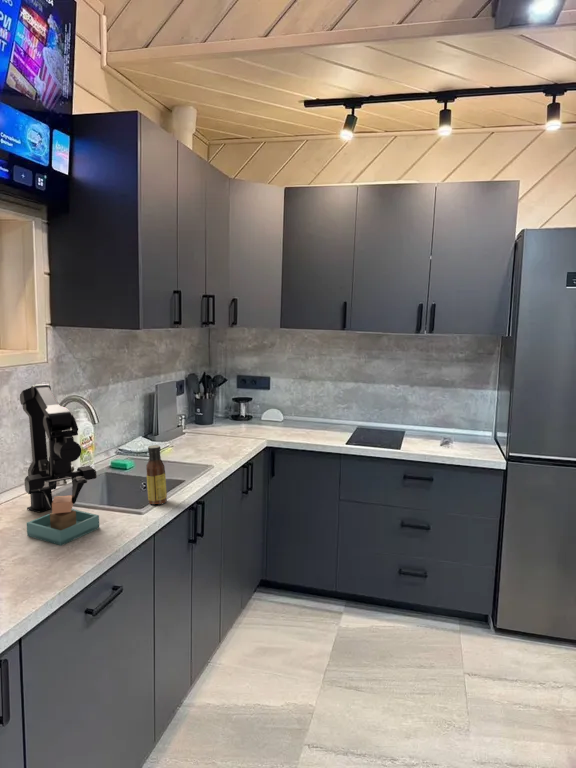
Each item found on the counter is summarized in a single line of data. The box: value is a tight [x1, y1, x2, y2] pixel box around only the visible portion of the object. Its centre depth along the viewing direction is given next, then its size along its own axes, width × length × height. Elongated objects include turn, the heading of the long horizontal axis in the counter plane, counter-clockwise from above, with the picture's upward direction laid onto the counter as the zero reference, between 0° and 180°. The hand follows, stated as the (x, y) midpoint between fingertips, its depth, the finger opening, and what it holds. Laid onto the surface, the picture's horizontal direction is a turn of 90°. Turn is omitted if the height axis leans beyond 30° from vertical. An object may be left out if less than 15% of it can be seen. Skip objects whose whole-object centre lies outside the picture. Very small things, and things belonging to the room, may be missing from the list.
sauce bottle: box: [145, 444, 168, 505], centre depth 183 cm, size 7×6×20 cm
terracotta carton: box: [51, 494, 74, 514], centre depth 158 cm, size 6×5×3 cm
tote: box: [26, 508, 100, 546], centre depth 159 cm, size 14×14×4 cm
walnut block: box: [49, 510, 76, 530], centre depth 159 cm, size 5×5×5 cm
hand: (62, 505), depth 158 cm, fingers closed on terracotta carton, 6 cm apart
